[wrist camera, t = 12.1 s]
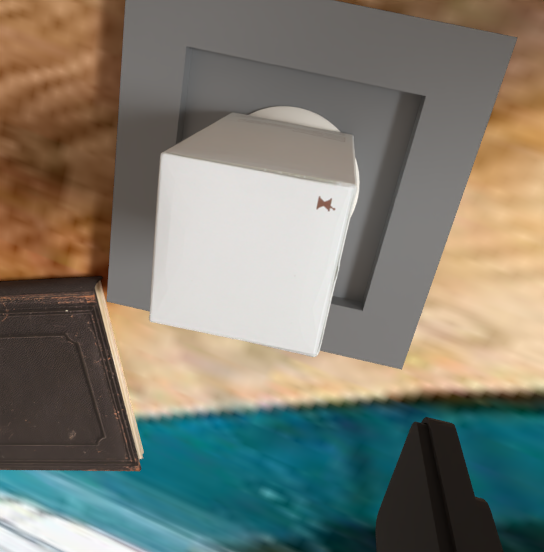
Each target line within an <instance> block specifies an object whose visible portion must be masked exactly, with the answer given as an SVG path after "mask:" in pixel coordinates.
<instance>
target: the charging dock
mask: <svg viewBox="0 0 544 552" xmlns="http://www.w3.org/2000/svg"><path fill="white" fill-rule="evenodd" d="M517 38H518V37H513V36H508V35H503V34H498V33H493V32H488V31H483V30H478V29H473V28H468V27H463V26H458V25H453V24H448V23H443V22H438V21H433V20H429V19H424V18H419V17H414V16H409V15H404V14H399V13H394V12H389V11H384V10H379V9H374V8H369V7H364V6H359V5H354V4H349V3H344V2H340V1H335V0H125V16H124V32H123V48H122V64H121V80H120V96H119V112H118V128H117V144H116V160H115V176H114V192H113V209H112V225H111V241H110V257H109V273H108V289H107V302H111V303H116V304H120V305H124V306H129V307H133V308H137V309H142V310H146V311H150V301H151V283H152V266H153V251H154V236H155V221H156V205H157V190H158V177H159V166H160V156H161V153H162V152H164V151H166V150H168V149H169V148H171V147H173V146H175V145H176V144H178V143H180V142H182V141H183V140H185V139H187V138H189V137H190V136H192V135H194V134H195V133H197V132H199V131H201V130H203V129H204V128H206V127H208V126H209V125H211V124H213V123H215V122H216V121H218V120H220V119H222V118H223V117H225V116H227V115H229V114H230V113H239V114H245V115H251V116H256V117H262V118H267V119H272V120H277V121H283V122H288V123H293V124H298V125H304V126H309V127H314V128H319V129H325V130H330V131H335V132H341V133H346V134H352V135H353V136H354V138H353V139H354V151H355V163H356V176H357V192H356V196H355V200H354V204H353V209H352V213H351V217H350V221H349V226H348V230H347V234H346V238H345V243H344V247H343V252H342V256H341V260H340V267H339V271H338V275H337V279H336V283H335V287H334V291H333V296H332V300H331V304H330V309H329V313H328V317H327V322H326V326H325V330H324V335H323V339H322V344H321V348H320V351H324V352H329V353H333V354H337V355H342V356H346V357H350V358H355V359H359V360H363V361H368V362H372V363H376V364H381V365H385V366H389V367H394V368H398V369H402V367H403V364H404V361H405V359H406V356H407V353H408V350H409V347H410V344H411V341H412V339H413V336H414V333H415V330H416V327H417V324H418V321H419V318H420V316H421V313H422V310H423V307H424V304H425V301H426V298H427V296H428V293H429V290H430V287H431V284H432V281H433V278H434V275H435V273H436V270H437V267H438V264H439V261H440V258H441V255H442V253H443V250H444V247H445V244H446V241H447V238H448V235H449V233H450V230H451V227H452V224H453V221H454V218H455V215H456V212H457V210H458V207H459V204H460V201H461V198H462V195H463V192H464V190H465V187H466V184H467V181H468V178H469V175H470V172H471V170H472V167H473V164H474V161H475V158H476V155H477V152H478V149H479V147H480V144H481V141H482V138H483V135H484V132H485V129H486V127H487V124H488V121H489V118H490V115H491V112H492V109H493V106H494V104H495V101H496V98H497V95H498V92H499V89H500V86H501V84H502V81H503V78H504V75H505V72H506V69H507V66H508V64H509V61H510V58H511V55H512V52H513V49H514V46H515V43H516V41H517Z"/></svg>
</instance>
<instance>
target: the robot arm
mask: <svg viewBox="0 0 544 552" xmlns="http://www.w3.org/2000/svg"><path fill="white" fill-rule="evenodd" d="M376 546H377V552H503V549H502V546H501V543H500V539H499V536H498V533H497V530H496V526H495V523H494V520H493V517H492V513H491V510H490V508H489V505H488V503H487V502H486V501H485V500H484V499H481V498H477V497H475V495H474V492H473V488H472V485H471V481H470V478H469V474H468V470H467V467H466V463H465V460H464V456H463V452H462V449H461V445H460V442H459V438H458V435H457V431H456V428H455V425H454V424H452V423H449V422H445V421H440V420H436V419H432V418H428V417H426V418H424V419H423V420H422V422H421V423H418V422H414V423H413V424H412V426H411V428H410V431H409V434H408V436H407V439H406V441H405V444H404V447H403V449H402V452H401V454H400V457H399V460H398V462H397V465H396V468H395V470H394V473H393V475H392V478H391V481H390V483H389V486H388V488H387V491H386V494H385V496H384V499H383V502H382V504H381V507H380V509H379V512H378V516H377V521H376Z"/></svg>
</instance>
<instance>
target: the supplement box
mask: <svg viewBox="0 0 544 552" xmlns="http://www.w3.org/2000/svg"><path fill="white" fill-rule="evenodd" d="M353 138H354V136H353V135H352V134H346V133H341V132H335V131H330V130H325V129H319V128H314V127H309V126H304V125H298V124H293V123H288V122H283V121H277V120H272V119H267V118H262V117H256V116H251V115H245V114H239V113H230V114H229V115H227V116H225V117H223V118H222V119H220V120H218V121H216V122H215V123H213V124H211V125H209V126H208V127H206V128H204V129H203V130H201V131H199V132H197V133H195V134H194V135H192V136H190V137H189V138H187V139H185V140H183V141H182V142H180V143H178V144H176V145H175V146H173V147H171V148H169V149H168V150H166V151H164V152H162V153H161V156H160V166H159V177H158V190H157V205H156V221H155V236H154V251H153V266H152V283H151V301H150V316H149V319H150V321H151V322H154V323H159V324H164V325H168V326H173V327H178V328H183V329H188V330H193V331H198V332H203V333H207V334H212V335H217V336H222V337H227V338H232V339H237V340H242V341H246V342H251V343H255V344H259V345H263V346H268V347H272V348H276V349H281V350H285V351H290V352H294V353H299V354H303V355H307V356H311V357H316V356H317V355H318V353H319V351H320V348H321V344H322V339H323V335H324V330H325V326H326V322H327V317H328V313H329V309H330V304H331V300H332V296H333V291H334V287H335V283H336V279H337V275H338V271H339V267H340V260H341V256H342V252H343V247H344V243H345V238H346V234H347V230H348V226H349V221H350V217H351V213H352V209H353V204H354V200H355V196H356V192H357V176H356V163H355V151H354V139H353Z"/></svg>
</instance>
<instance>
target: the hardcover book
mask: <svg viewBox="0 0 544 552" xmlns="http://www.w3.org/2000/svg"><path fill="white" fill-rule="evenodd" d="M101 279H103V277H102V276H94V277H76V278H57V279H38V280H19V281H1V282H0V470H82V471H140V470H141V466H140V462H139V459H141V458H143V457H142V454H143V453H144V452H143V448H142V444H141V440H140V436H139V432H138V428H137V424H136V420H135V416H134V412H133V408H132V404H131V400H130V396H129V392H128V388H127V384H126V380H125V376H124V372H123V368H122V364H121V360H120V356H119V352H118V348H117V344H116V340H115V336H114V332H113V328H112V324H111V320H110V316H109V312H108V308H107V304H106V300H105V296H104V292H103V288H102V284H101Z"/></svg>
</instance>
